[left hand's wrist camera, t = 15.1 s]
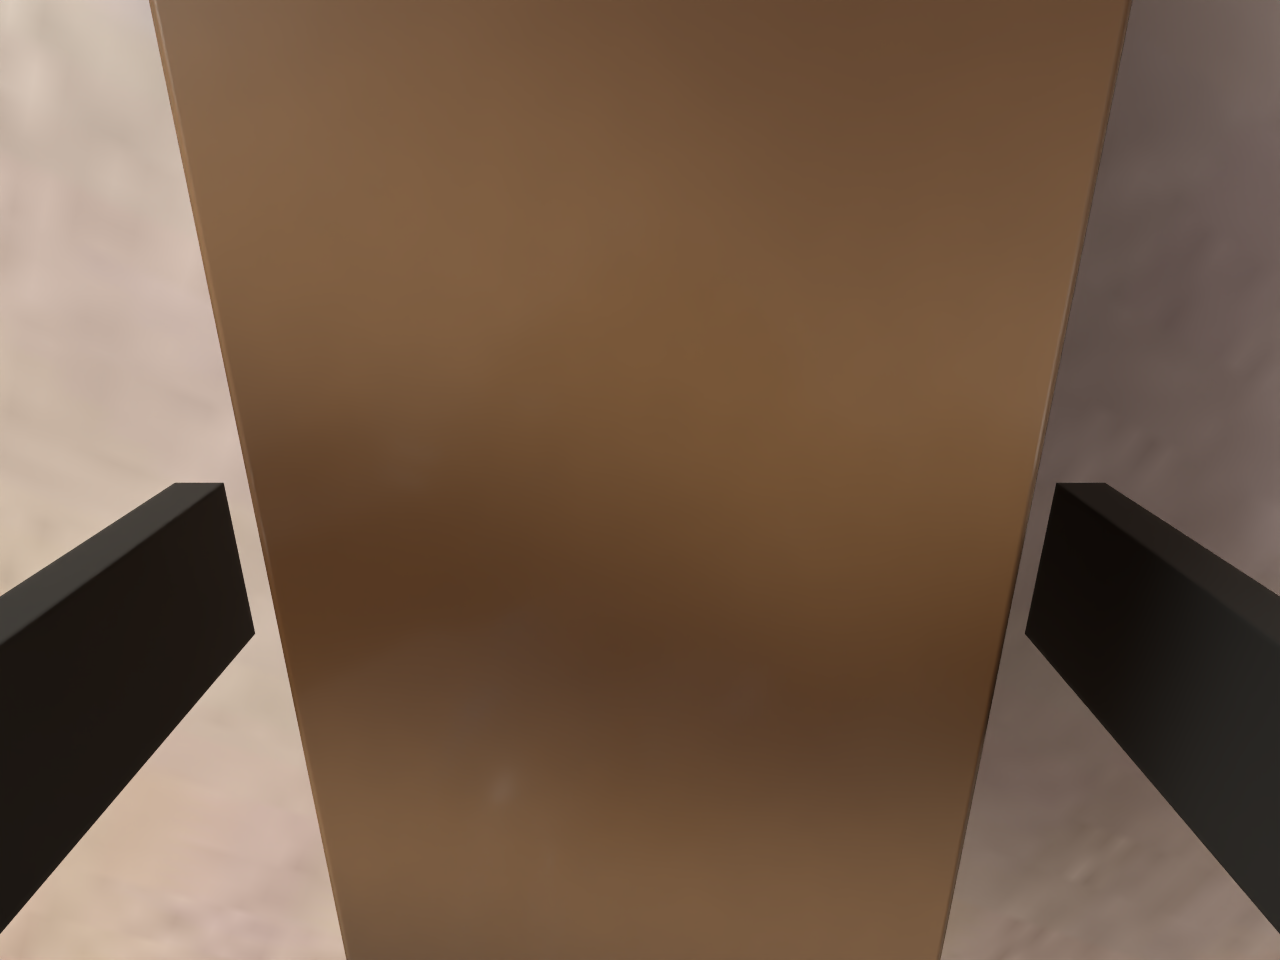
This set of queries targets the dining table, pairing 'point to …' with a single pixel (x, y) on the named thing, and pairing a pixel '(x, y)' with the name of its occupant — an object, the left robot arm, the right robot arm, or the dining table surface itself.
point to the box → (641, 440)
